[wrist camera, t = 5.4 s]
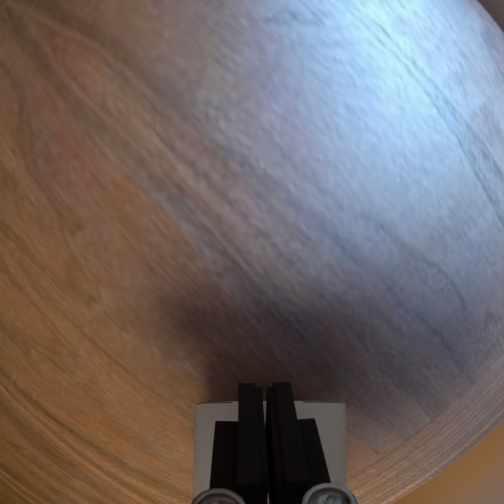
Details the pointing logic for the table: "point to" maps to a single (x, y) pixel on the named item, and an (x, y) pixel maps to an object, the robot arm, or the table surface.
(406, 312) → the table surface
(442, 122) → the table surface
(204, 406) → the beige cylinder teal cap
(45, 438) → the table surface
